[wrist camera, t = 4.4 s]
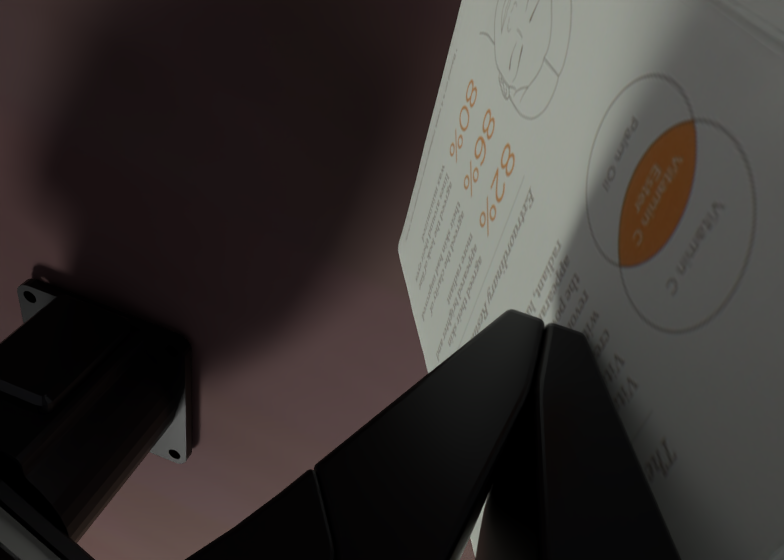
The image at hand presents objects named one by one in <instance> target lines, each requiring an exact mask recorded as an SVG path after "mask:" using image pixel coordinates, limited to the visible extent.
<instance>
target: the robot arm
mask: <svg viewBox="0 0 784 560" xmlns="http://www.w3.org/2000/svg"><path fill="white" fill-rule="evenodd" d="M17 292H18V297H19V302H20V307H21V312H22V317H23V322H24V324H23V325H21V326H20V327H19V328H18V329H16V330H15V331H14V332H13V333H12V334H10V335H9V336H8V337H7V338H6V339H4V340H3V341H2V342H1V343H0V560H95V559H94V558H92V557H91V556H90V555H89V554H88V553H87V552H86V551H85V550H83V549H82V548H81V547H80V546H79V545H78V544H77V542H78V541H79V540H80V539H81V537H82V536H83V535H84V534H85V532H86V531H87V530H88V528H89V527H90V526H91V525H92V523H93V522H94V521H95V520H96V518H97V517H98V516H99V515H100V513H101V512H102V511H103V510H104V508H105V507H106V506H107V505H108V503H109V502H110V501H111V499H112V498H113V497H114V496H115V494H116V493H117V492H118V491H119V489H120V488H121V487H122V486H123V484H124V483H125V482H126V481H127V479H128V478H129V477H130V476H131V474H132V473H133V472H134V471H135V469H136V468H137V467H138V465H139V464H140V463H141V462H142V460H143V459H144V458H145V457H146V455H147V454H148V453H149V452H151V453H153V454H156V455H158V456H160V457H163V458H165V459H168V460H170V461H173V462H175V463H179V464H181V463H184V462H186V460H187V459H188V458H189V456H190V455H191V453H192V376H191V345H190V343H189V342H188V340H187V339H186V338H185V337H184V336H182V335H180V334H178V333H176V332H173V331H171V330H168V329H165V328H163V327H160V326H157V325H155V324H152V323H150V322H147V321H144V320H142V319H139V318H136V317H134V316H131V315H128V314H126V313H123V312H121V311H118V310H115V309H113V308H110V307H107V306H105V305H102V304H99V303H97V302H94V301H92V300H89V299H86V298H84V297H81V296H78V295H76V294H73V293H70V292H68V291H65V290H63V289H60V288H57V287H55V286H52V285H49V284H47V283H44V282H41V281H39V280H36V279H28V280H27V281H25V282H24V283H23V284H21V285H20V286H19V287H18V291H17ZM544 326H545V325H544V321H543V320H542V319H540V318H538V317H535V316H532V315H529V314H526V313H523V312H521V311H518V310H515V309H509V310H507V311H505V312H504V313H503V314H501V315H500V316H499V317H498V318H496V319H495V320H494V321H493V322H492V323H490V324H489V325H488V326H487V327H485V328H484V329H483V330H482V331H480V332H479V333H478V334H477V335H475V336H474V337H473V338H472V339H470V340H469V341H468V342H467V343H465V344H464V345H463V346H462V347H461V348H459V349H458V350H457V351H456V352H454V353H453V354H452V355H451V356H449V357H448V358H447V359H446V360H444V361H443V362H442V363H441V364H439V365H438V366H437V367H436V368H435V369H433V370H432V371H431V372H430V373H428V374H427V375H426V376H425V377H423V378H422V379H421V380H420V381H418V382H417V383H416V384H415V385H413V386H412V387H411V388H410V389H408V390H407V391H406V392H405V393H404V394H402V395H401V396H400V397H399V398H397V399H396V400H395V401H394V402H392V403H391V404H390V405H389V406H387V407H386V408H385V409H384V410H382V411H381V412H380V413H379V414H377V415H376V416H375V417H374V418H373V419H371V420H370V421H369V422H368V423H366V424H365V425H364V426H363V427H361V428H360V429H359V430H358V431H356V432H355V433H354V434H353V435H351V436H350V437H349V438H348V439H347V440H345V441H344V442H343V443H342V444H340V445H339V446H338V447H337V448H335V449H334V450H333V451H332V452H330V453H329V454H328V455H327V456H325V457H324V458H323V459H322V460H320V461H319V462H318V463H317V464H316V465H315V467H314V470H312V469H310V470H308V471H306V472H305V473H304V474H303V475H301V476H300V477H299V478H298V479H296V480H295V481H294V482H293V483H291V484H290V485H289V486H288V487H286V488H285V489H284V490H283V491H282V492H280V493H279V494H278V495H276V496H275V497H274V498H272V499H271V500H270V501H268V502H267V503H266V504H264V505H263V506H262V507H260V508H259V509H258V510H256V511H255V512H254V513H252V514H251V515H250V516H248V517H247V518H246V519H244V520H243V521H242V522H240V523H239V524H238V525H236V526H235V527H234V528H232V529H231V530H229V531H228V532H226V533H224V534H223V535H221V536H220V537H218V538H217V539H215V540H214V541H212V542H211V543H209V544H208V545H206V546H205V547H203V548H202V549H200V550H199V551H197V552H196V553H194V554H193V555H191V556H190V557H188V558H187V559H185V560H460V558H461V556H462V553H463V551H464V549H465V547H466V545H467V542H468V540H469V538H470V536H471V534H472V532H473V529H474V527H475V525H476V522H477V520H478V518H479V515H480V513H481V510H482V508H483V506H484V503H485V501H486V504H485V508H484V512H483V517H482V522H481V528H480V533H479V539H478V545H477V551H476V557H475V560H682V559H681V557H680V555H679V552H678V550H677V548H676V545H675V543H674V541H673V538H672V536H671V534H670V531H669V529H668V527H667V524H666V522H665V520H664V517H663V515H662V513H661V510H660V508H659V506H658V503H657V501H656V499H655V496H654V494H653V492H652V490H651V487H650V485H649V483H648V480H647V478H646V476H645V473H644V471H643V469H642V466H641V464H640V462H639V459H638V457H637V455H636V452H635V450H634V448H633V445H632V443H631V441H630V438H629V436H628V434H627V431H626V429H625V427H624V424H623V422H622V420H621V417H620V415H619V413H618V410H617V408H616V406H615V403H614V401H613V399H612V396H611V394H610V392H609V389H608V387H607V385H606V382H605V380H604V378H603V375H602V373H601V371H600V368H599V366H598V364H597V361H596V359H595V357H594V354H593V352H592V350H591V347H590V345H589V343H588V340H587V338H586V336H585V335H584V334H583V333H581V332H579V331H576V330H573V329H571V328H568V327H565V326H562V325H559V324H556V323H552V322H551V323H548V324H547V325H546V326H545V327H544ZM486 498H487V500H486Z"/></svg>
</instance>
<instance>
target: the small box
mask: <svg viewBox="0 0 784 560" xmlns="http://www.w3.org/2000/svg"><path fill="white" fill-rule="evenodd" d="M398 252H399V257H400V261H401V265H402V269H403V273H404V277H405V281H406V285H407V289H408V293H409V297H410V301H411V306H412V311H413V315H414V319H415V323H416V327H417V330H418V334H419V338H420V342H421V346H422V350H423V353H424V357H425V362H426V367H427V370H428V373H430V372H431V371H432V370H433V369H435V368H436V367H437V366H438V365H439V364H441V363H442V362H443V361H444V360H446V359H447V358H448V357H449V356H451V355H452V354H453V353H454V352H456V351H457V350H458V349H459V348H461V347H462V346H463V345H464V344H465V343H467V342H468V341H469V340H470V339H472V338H473V337H474V336H475V335H477V334H478V333H479V332H480V331H482V330H483V329H484V328H485V327H487V326H488V325H489V324H490V323H492V322H493V321H494V320H495V319H496V318H498V317H499V316H500V315H501V314H503V313H504V312H505V311H507V310H509V309H515V310H518V311H521V312H523V313H526V314H529V315H532V316H535V317H538V318H540V319H542V320H543V321H544V325H545V326H546V325H547V324H548V323H551V322H552V323H556V324H559V325H562V326H565V327H568V328H571V329H573V330H576V331H579V332H581V333H583V334H584V335H585V336H586V338H587V340H588V343H589V345H590V347H591V350H592V352H593V354H594V357H595V359H596V361H597V364H598V366H599V368H600V371H601V373H602V375H603V378H604V380H605V382H606V385H607V387H608V389H609V392H610V394H611V396H612V399H613V401H614V403H615V406H616V408H617V410H618V413H619V415H620V417H621V420H622V422H623V424H624V427H625V429H626V431H627V434H628V436H629V438H630V441H631V443H632V445H633V448H634V450H635V452H636V455H637V457H638V459H639V462H640V464H641V466H642V469H643V471H644V473H645V476H646V478H647V480H648V483H649V485H650V487H651V490H652V492H653V494H654V496H655V499H656V501H657V503H658V506H659V508H660V510H661V513H662V515H663V517H664V520H665V522H666V524H667V527H668V529H669V531H670V534H671V536H672V538H673V541H674V543H675V545H676V548H677V550H678V552H679V555H680V557H681V559H682V560H784V0H462V1H461V5H460V9H459V13H458V17H457V22H456V26H455V29H454V33H453V37H452V41H451V45H450V48H449V52H448V56H447V60H446V64H445V68H444V72H443V76H442V80H441V84H440V88H439V91H438V95H437V99H436V103H435V107H434V111H433V114H432V118H431V122H430V126H429V130H428V134H427V138H426V141H425V145H424V150H423V154H422V158H421V162H420V166H419V170H418V174H417V178H416V182H415V186H414V190H413V193H412V197H411V201H410V205H409V209H408V213H407V217H406V220H405V224H404V228H403V231H402V235H401V238H400V241H399V246H398ZM545 326H544V327H545ZM486 500H487V498H486ZM485 504H486V501H485V503H484V506H483V508H482V510H481V513H480V515H479V518H478V520H477V522H476V525H475V527H474V529H473V532H472V534H471V536H470V538H471V542H472V546H473V550H474V554H475V557H476V551H477V545H478V539H479V533H480V528H481V522H482V517H483V512H484V508H485Z"/></svg>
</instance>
